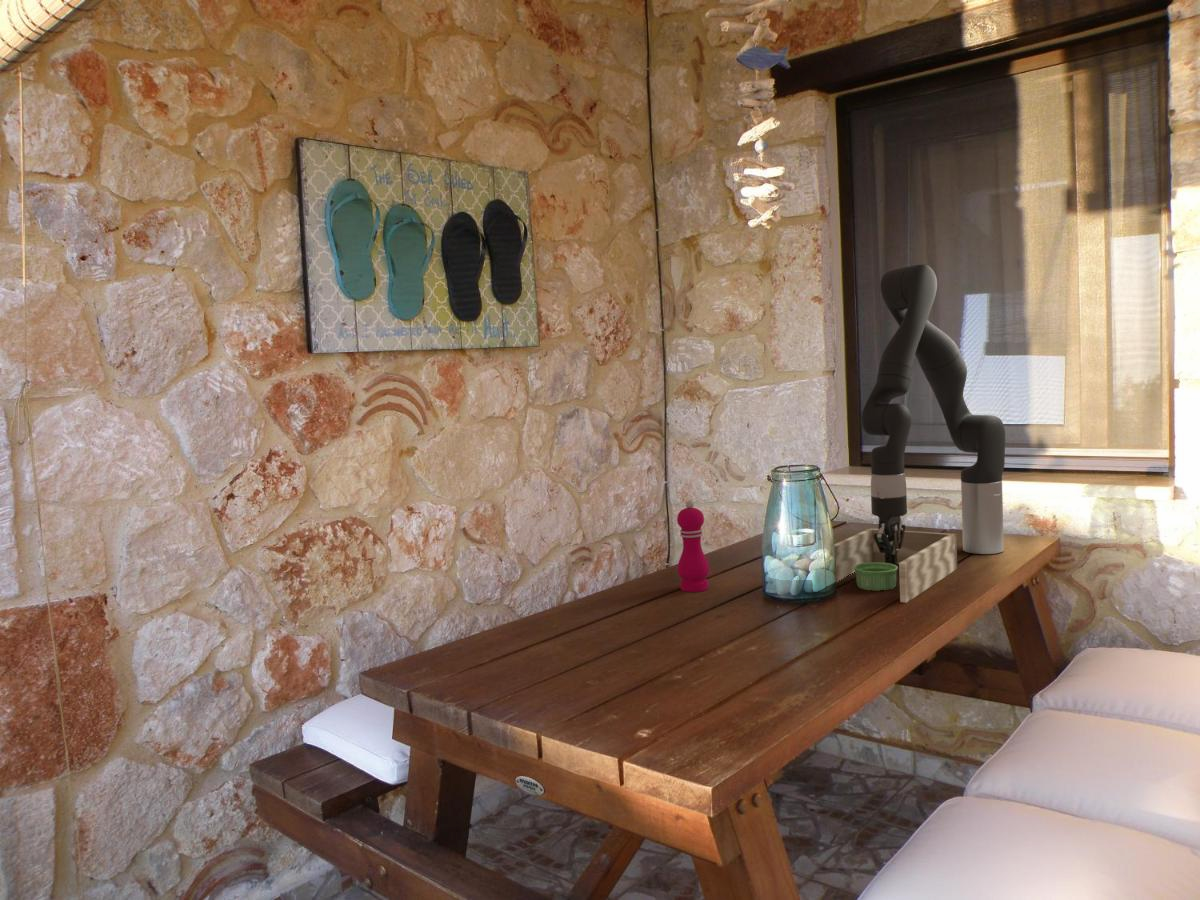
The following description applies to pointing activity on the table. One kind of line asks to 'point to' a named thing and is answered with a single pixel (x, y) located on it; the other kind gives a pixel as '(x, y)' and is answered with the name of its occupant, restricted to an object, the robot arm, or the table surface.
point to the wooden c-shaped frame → (902, 558)
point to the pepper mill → (692, 551)
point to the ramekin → (876, 576)
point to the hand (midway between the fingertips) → (891, 570)
